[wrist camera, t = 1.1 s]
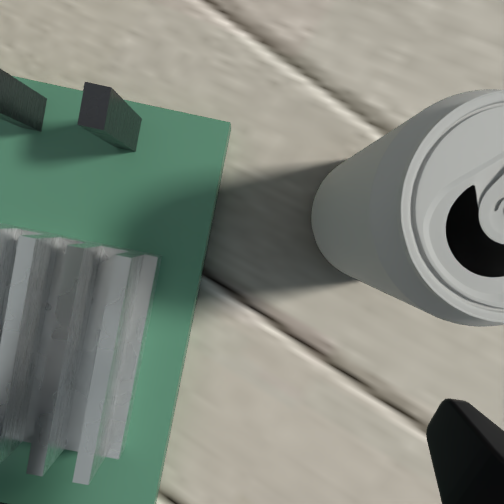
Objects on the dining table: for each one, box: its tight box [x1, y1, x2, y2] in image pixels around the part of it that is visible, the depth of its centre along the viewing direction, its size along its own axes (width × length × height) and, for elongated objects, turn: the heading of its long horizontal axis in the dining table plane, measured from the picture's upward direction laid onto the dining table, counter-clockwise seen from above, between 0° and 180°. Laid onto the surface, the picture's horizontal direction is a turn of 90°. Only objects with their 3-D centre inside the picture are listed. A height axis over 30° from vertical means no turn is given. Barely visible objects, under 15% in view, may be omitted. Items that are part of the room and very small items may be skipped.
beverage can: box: [311, 90, 504, 326], centre depth 16 cm, size 6×6×12 cm
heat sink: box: [0, 69, 162, 504], centre depth 18 cm, size 22×10×5 cm, turn 168°
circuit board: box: [0, 76, 231, 504], centre depth 21 cm, size 24×14×1 cm, turn 168°
